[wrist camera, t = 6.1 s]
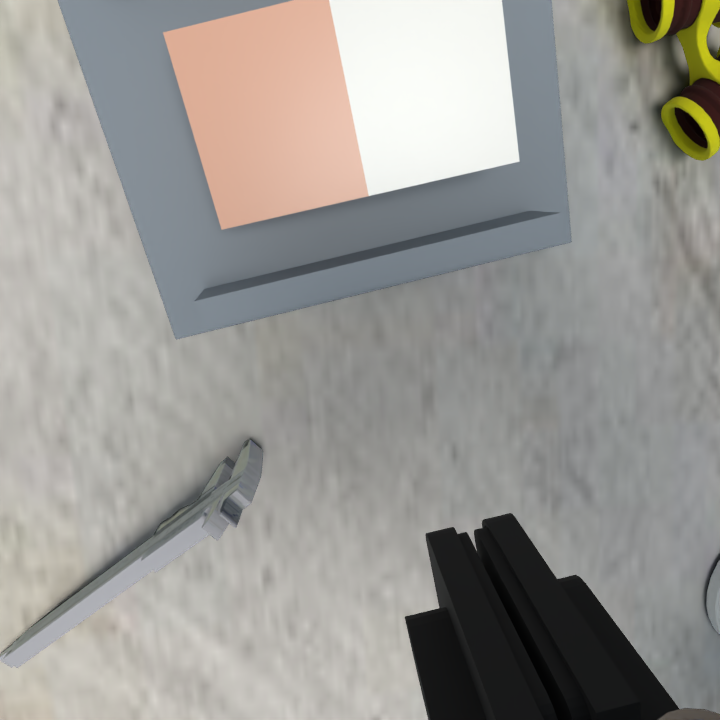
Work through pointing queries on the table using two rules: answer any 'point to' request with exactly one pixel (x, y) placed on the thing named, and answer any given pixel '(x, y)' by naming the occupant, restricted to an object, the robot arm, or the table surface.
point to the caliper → (152, 551)
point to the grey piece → (320, 225)
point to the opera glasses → (707, 75)
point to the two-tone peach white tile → (343, 100)
